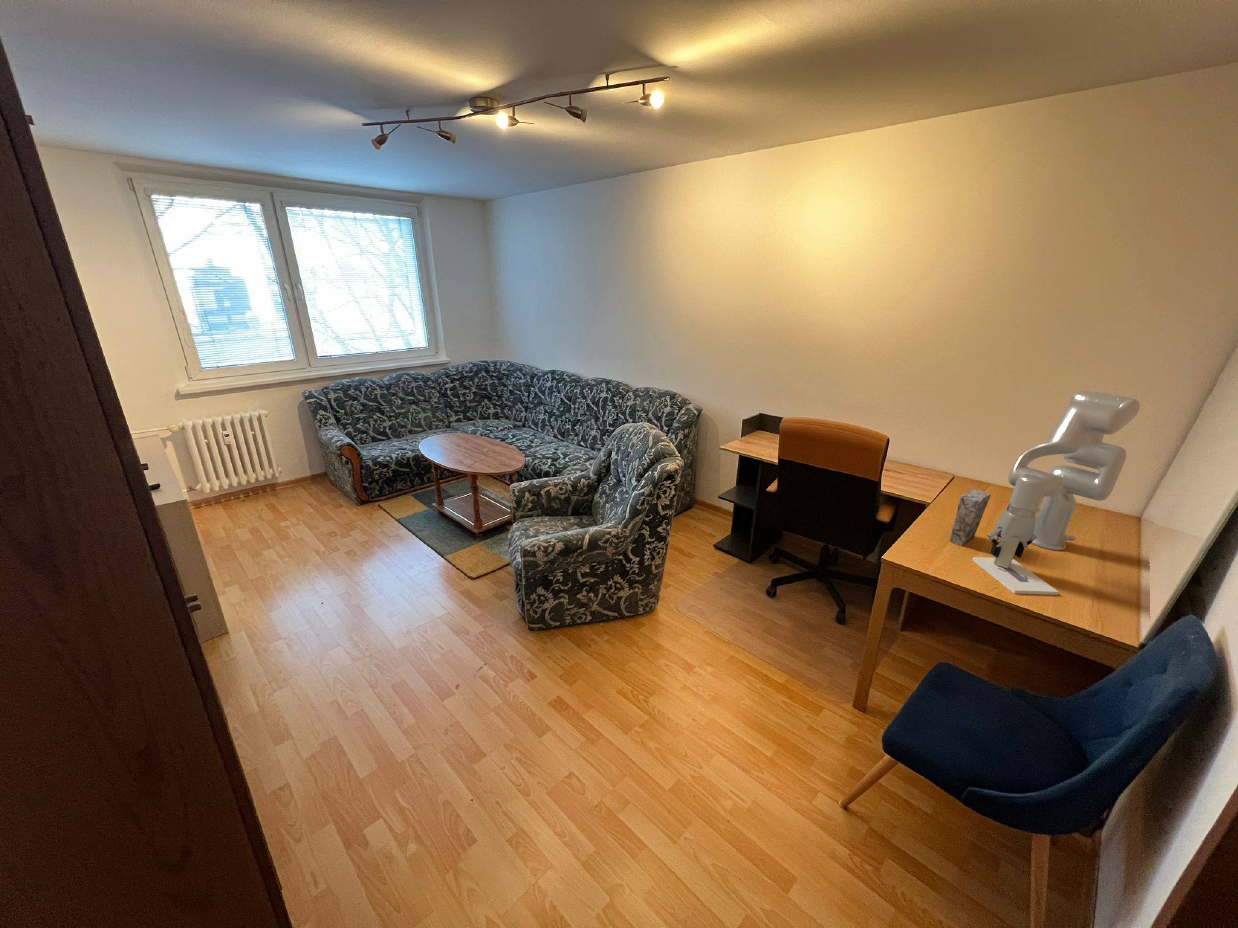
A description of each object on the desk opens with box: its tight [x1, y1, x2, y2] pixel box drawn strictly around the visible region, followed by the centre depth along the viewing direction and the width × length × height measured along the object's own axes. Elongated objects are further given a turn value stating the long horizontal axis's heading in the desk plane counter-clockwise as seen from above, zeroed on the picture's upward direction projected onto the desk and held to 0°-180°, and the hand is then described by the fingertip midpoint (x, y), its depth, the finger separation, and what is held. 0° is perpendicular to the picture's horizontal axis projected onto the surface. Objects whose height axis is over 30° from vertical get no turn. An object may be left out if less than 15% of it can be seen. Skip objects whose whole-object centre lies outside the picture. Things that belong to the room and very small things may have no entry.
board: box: [972, 556, 1059, 596], centre depth 163 cm, size 14×20×1 cm
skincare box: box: [993, 537, 1021, 569], centre depth 165 cm, size 6×4×12 cm
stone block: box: [949, 488, 991, 547], centre depth 183 cm, size 13×7×20 cm, turn 132°
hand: (1005, 555), depth 167 cm, fingers closed on skincare box, 7 cm apart
